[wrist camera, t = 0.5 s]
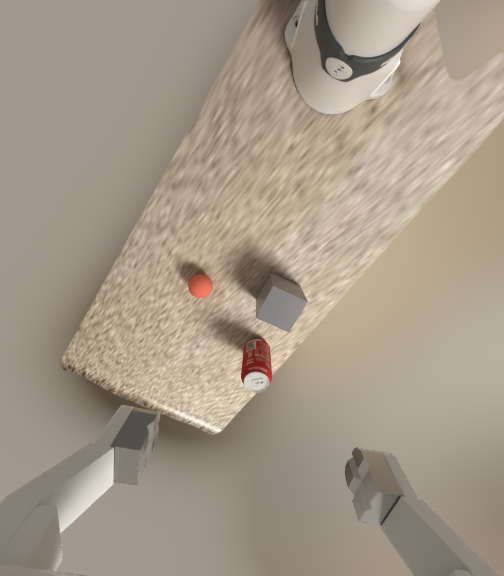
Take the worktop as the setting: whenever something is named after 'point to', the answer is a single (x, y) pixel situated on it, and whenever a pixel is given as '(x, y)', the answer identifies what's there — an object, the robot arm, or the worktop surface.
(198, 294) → the ball
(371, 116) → the worktop surface
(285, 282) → the matte gray cube
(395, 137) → the worktop surface
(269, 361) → the beverage can
